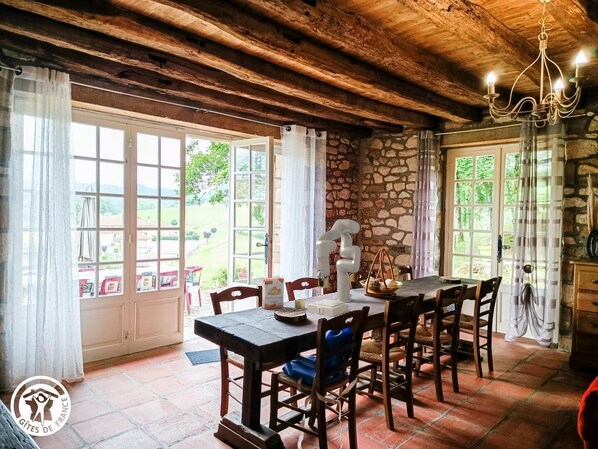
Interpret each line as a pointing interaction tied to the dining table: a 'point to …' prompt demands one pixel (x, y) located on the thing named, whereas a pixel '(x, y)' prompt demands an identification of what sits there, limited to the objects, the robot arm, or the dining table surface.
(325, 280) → the brass weight
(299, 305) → the brass weight
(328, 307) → the kitchen scale
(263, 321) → the dining table surface
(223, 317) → the dining table surface
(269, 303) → the cracker box
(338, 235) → the robot arm
